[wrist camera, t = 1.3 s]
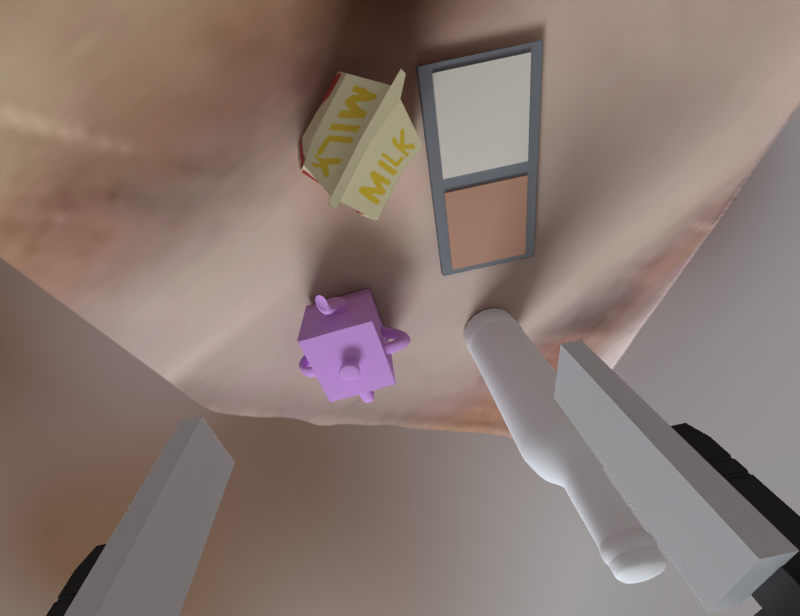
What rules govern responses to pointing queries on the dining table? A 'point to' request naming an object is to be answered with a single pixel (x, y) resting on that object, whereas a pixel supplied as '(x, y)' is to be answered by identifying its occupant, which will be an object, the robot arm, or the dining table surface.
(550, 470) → the bottle
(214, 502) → the robot arm
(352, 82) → the milk carton
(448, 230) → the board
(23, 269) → the dining table surface
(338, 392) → the purple boxy tea kettle
